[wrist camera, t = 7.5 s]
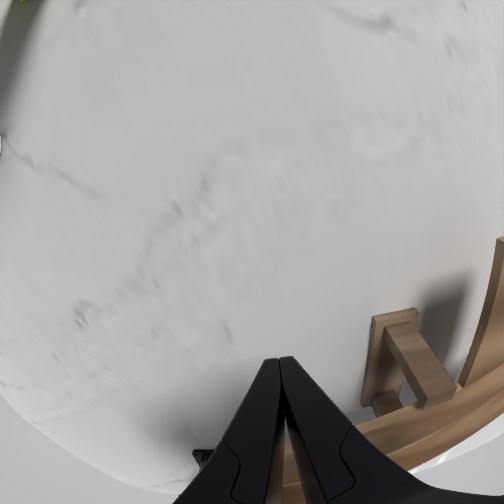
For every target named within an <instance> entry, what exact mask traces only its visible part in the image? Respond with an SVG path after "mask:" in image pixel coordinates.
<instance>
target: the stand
mask: <svg viewBox="0 0 504 504" xmlns="http://www.w3.org/2000/svg"><path fill="white" fill-rule="evenodd" d="M418 314H419V312H418V311H417V310H416V309H415V308H410V309H406V310H401V311H397V312H392V313H387V314H382V315H377V316H373V319H372V329H371V338H370V346H369V354H368V361H367V368H366V374H365V380H364V386H363V392H362V397H361V405H362V407H368V406H372V407H373V410H374V412H375V415H376V418H378V417H381V416H383V415H386V414H389V413H391V412H394V411H396V410H399V409H401V408H403V407H402V405H401V403H400V400H399V398H398V396H399V393H400V390H401V387H402V383H403V380H404V376H405V377H406V379H407V381H408V383H409V385H410V387H411V388H412V390H413V392H414V394H415V396H416V398H417V400H418V402H419V403H420V405H421V407H422V409H423V410H425V409H427V408H430V407H433V406H436V405H438V404H441V403H443V402H446V401H448V400H451V399H452V398H453V396H454V394H455V392H456V390H457V386H456V384H455V383H454V381H453V380H452V378H451V377H450V375H449V374H448V372H447V371H446V369H445V368H444V366H443V365H442V364H441V362H440V361H439V359H438V358H437V357H436V355H435V354H434V352H433V351H432V350H431V348H430V347H429V345H428V344H427V343H426V341H425V340H424V339H423V337H422V336H421V335H420V333H419V332H418V331H417V329H416V325H417V319H418Z"/></svg>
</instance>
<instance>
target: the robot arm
mask: <svg viewBox="0 0 504 504" xmlns="http://www.w3.org/2000/svg"><path fill="white" fill-rule="evenodd" d="M279 365H280V366H279ZM283 402H284V403H283ZM284 412H285V413H284ZM285 420H286V426H287V431H288V435H289V439H290V442H291V446H292V450H293V454H294V458H295V462H296V466H297V470H298V473H299V477H300V481H301V485H302V489H303V493H304V496H305V500H306V504H504V495H502V496H488V495H478V494H471V493H463V492H457V491H450V490H445V489H440V488H436V487H433V486H430V485H428V484H425V483H424V482H422V481H420V480H418V479H417V478H416V477H414V476H413V475H412V474H410V473H409V472H407V471H406V470H405V469H403V468H402V467H401V466H399V465H398V464H397V463H395V462H394V461H393V460H391V459H390V458H389V457H388V456H386V455H385V454H384V453H383V452H381V451H380V450H379V449H378V448H377V447H375V446H374V445H373V444H372V443H371V442H370V441H369V440H368V439H367V438H366V437H365V436H364V435H363V434H362V433H361V432H360V431H359V430H358V429H357V428H356V427H355V425H352V422H351V421H350V420H349V419H348V418H347V417H346V416H345V415H344V414H343V413H342V411H341V410H340V409H339V408H338V407H337V406H336V405H335V404H334V403H333V401H332V400H331V399H330V398H329V397H328V396H327V395H326V394H325V392H324V391H323V390H322V389H321V388H320V387H319V386H318V385H317V383H316V382H315V381H314V380H313V379H312V378H311V377H310V375H309V374H308V373H307V372H306V371H305V370H304V369H303V367H302V366H301V365H300V364H299V363H298V362H297V360H296V359H295V358H294V357H293V356H287V357H280V358H279V359H278V358H270V359H265V360H264V361H263V363H262V365H261V367H260V369H259V371H258V373H257V375H256V377H255V379H254V381H253V383H252V384H251V386H250V388H249V390H248V392H247V394H246V396H245V397H244V399H243V401H242V403H241V405H240V407H239V408H238V410H237V412H236V414H235V416H234V418H233V419H232V421H231V423H230V425H229V426H228V428H227V430H226V432H225V433H224V435H223V437H222V441H220V442H219V444H218V445H217V447H216V449H215V450H193V452H192V455H193V456H194V458H195V460H196V461H197V463H198V464H199V466H200V470H199V473H198V475H197V476H196V477H195V478H194V480H193V481H192V482H191V483H190V484H189V485H188V487H187V488H186V489H185V490H184V491H183V492H182V493H181V494H180V495H179V497H178V498H177V499H176V500H175V502H173V504H281V499H282V484H283V468H284V449H285Z"/></svg>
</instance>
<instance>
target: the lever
mask: <svg viewBox="0 0 504 504" xmlns="http://www.w3.org/2000/svg"><path fill="white" fill-rule="evenodd" d="M455 384H456V386H457V390H456V392H455V394H454V396H453V398H452V399H451V400H448V401H446V402H443V403H441V404H438V405H436V406H433V407H430V408H427V409H425V410H423V409H422V407H421V405H420V403H419V402H415V403H413V404H411V405H408V406H406V407H404V408H401V409H399V410H396V411H394V412H391V413H389V414H386V415H383V416H381V417H378V418H375V419H373V420H370V421H367V422H364V423H361V424H358V425H355V427H356V428H357V429H358V430H359V431H360V432H361V433H362V434H363V435H364V436H365V437H366V438H367V439H368V440H369V441H370V442H371V443H372V444H373V445H374V446H375V447H377V448H378V449H379V450H380V451H381V452H383V453H384V454H385V455H386V456H388V457H389V458H390V459H391V460H393V461H394V462H395V463H397V464H398V465H399V466H401V467H402V468H403V469H405V470H406V471H409V470H411V469H413V468H415V467H417V466H419V465H421V464H423V463H425V462H427V461H429V460H431V459H433V458H435V457H436V456H438V455H440V454H442V453H444V452H445V451H447V450H449V449H451V448H452V447H454V446H456V445H457V444H459V443H460V442H462V441H464V440H465V439H467V438H468V437H470V436H471V435H473V434H474V433H476V432H477V431H479V430H480V429H482V428H483V427H485V426H486V425H487V424H489V423H490V422H492V421H493V420H494V419H496V418H497V417H498V416H500V415H501V414H502V413H503V412H504V237H500V238H497V240H496V247H495V254H494V260H493V265H492V271H491V276H490V280H489V285H488V289H487V294H486V298H485V302H484V306H483V309H482V313H481V316H480V320H479V323H478V327H477V330H476V333H475V336H474V339H473V342H472V345H471V348H470V351H469V354H468V356H467V359H466V362H465V364H464V367H463V369H462V372H461V374H460V377H459V379H458V382H456V383H455ZM281 504H306V500H305V496H304V493H303V489H302V485H301V481H300V477H299V473H298V470H297V466H296V462H295V458H294V454H293V450H292V446H291V442H290V439H289V435H288V431H287V426H286V420H285V449H284V468H283V484H282V499H281Z"/></svg>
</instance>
